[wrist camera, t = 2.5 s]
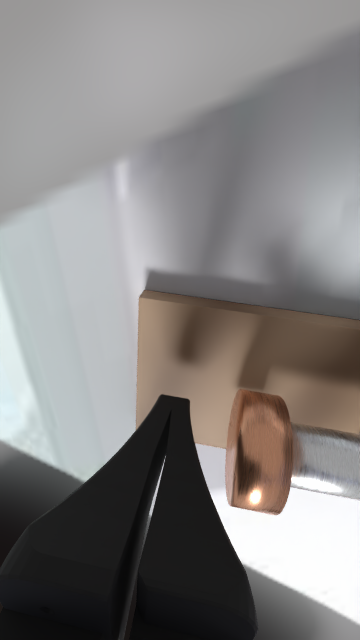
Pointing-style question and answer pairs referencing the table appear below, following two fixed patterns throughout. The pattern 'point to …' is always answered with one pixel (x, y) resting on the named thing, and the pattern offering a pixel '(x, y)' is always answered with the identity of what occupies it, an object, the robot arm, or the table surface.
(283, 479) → the shaft
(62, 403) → the table surface
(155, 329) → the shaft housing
